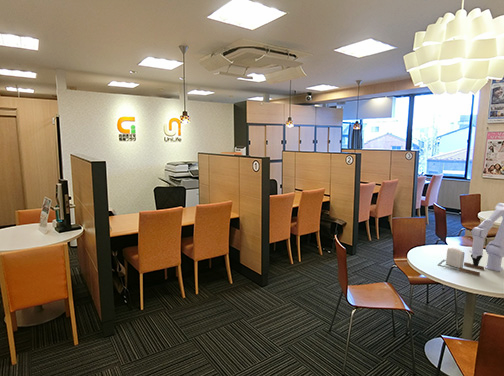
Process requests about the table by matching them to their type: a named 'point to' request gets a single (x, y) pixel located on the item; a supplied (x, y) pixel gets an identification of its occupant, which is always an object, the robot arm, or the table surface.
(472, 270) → the walnut rails
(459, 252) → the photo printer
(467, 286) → the table surface
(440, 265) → the charcoal frame
